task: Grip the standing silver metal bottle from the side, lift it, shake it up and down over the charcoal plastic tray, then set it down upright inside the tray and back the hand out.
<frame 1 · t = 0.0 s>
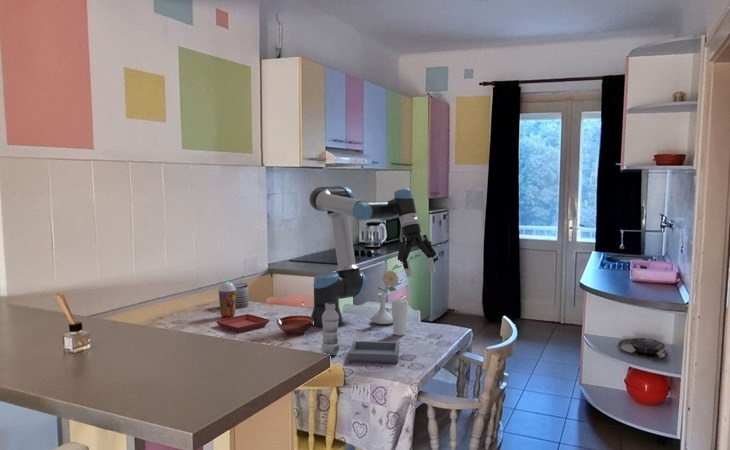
hand: (421, 274, 230), 28 cm above the table, tool tilted 20°, fingers open, 13 cm apart
tray: (374, 356, 212), on the table
plant saucer: (242, 327, 256), on the table
smoothie: (227, 317, 273), on the table
silver metal bottle: (330, 355, 214), on the table
can: (237, 306, 296), on the table
drinking glass: (399, 334, 243), on the table
flower in vase: (384, 323, 262), on the table
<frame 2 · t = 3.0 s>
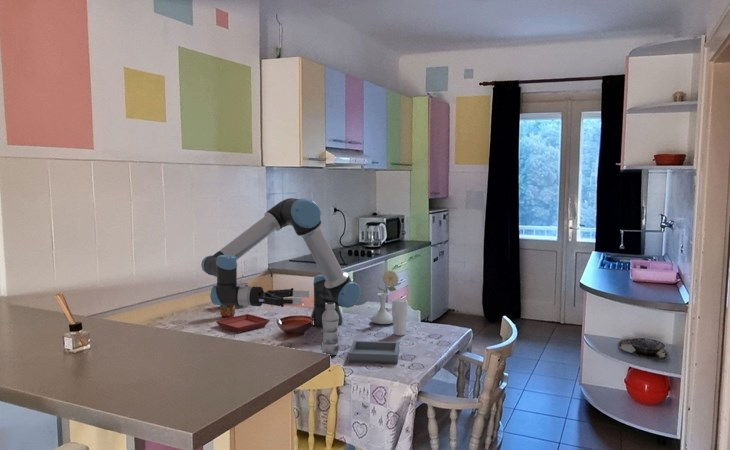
hand: (305, 297, 213), 22 cm above the table, tool horizontal, fingers open, 13 cm apart
nothing on the table moved.
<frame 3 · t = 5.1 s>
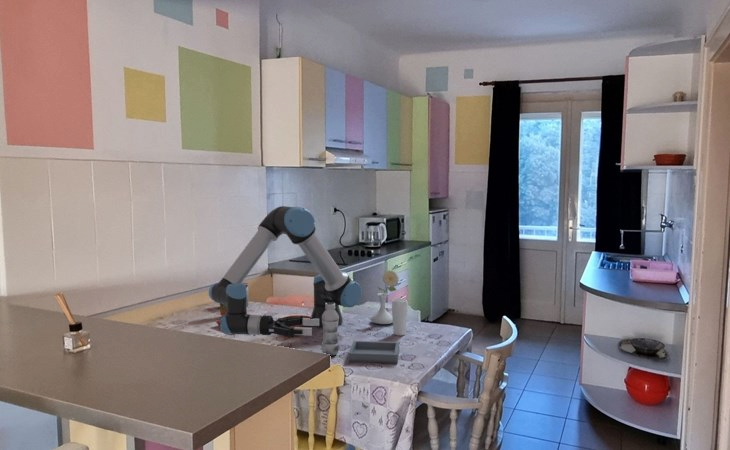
hand: (315, 326, 213), 11 cm above the table, tool horizontal, fingers open, 13 cm apart
nothing on the table moved.
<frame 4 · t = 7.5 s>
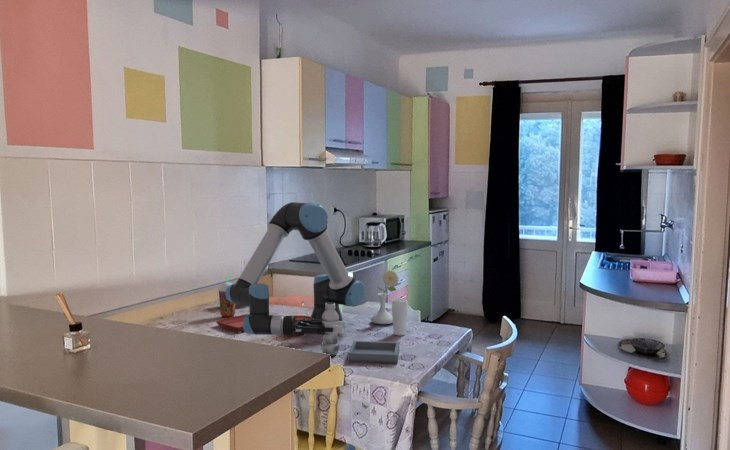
hand: (343, 327, 212), 11 cm above the table, tool horizontal, fingers closed on silver metal bottle, 6 cm apart
silver metal bottle: (330, 355, 214), on the table, touching gripper
everything else where it was.
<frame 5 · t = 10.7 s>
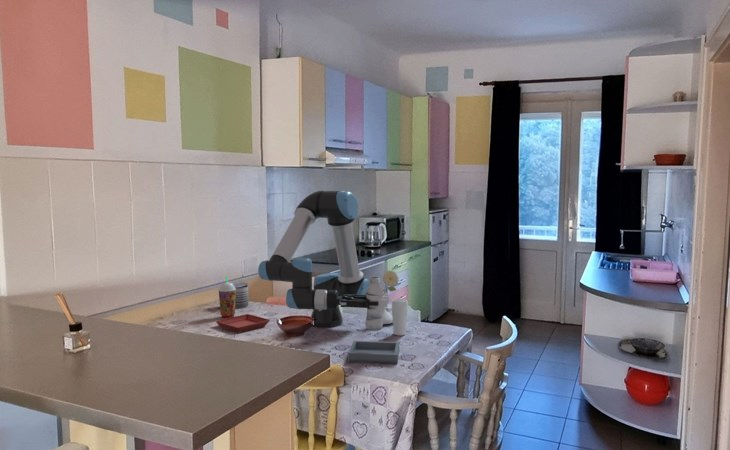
hand: (388, 301, 210), 21 cm above the table, tool horizontal, fingers closed on silver metal bottle, 6 cm apart
silver metal bottle: (374, 330, 211), point 10 cm above the table, touching gripper
everything else where it was.
when the fingers open (13 cm above the table, at t = 14.2 s): silver metal bottle drops 1 cm, resting on tray.
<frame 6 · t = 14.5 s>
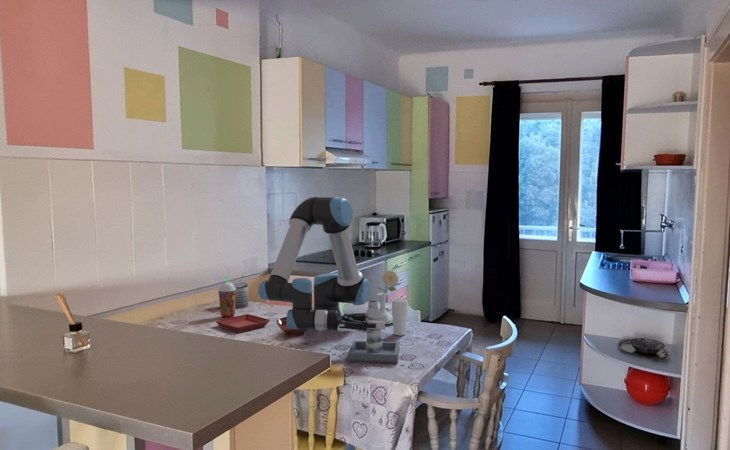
hand: (385, 321, 210), 13 cm above the table, tool horizontal, fingers open, 10 cm apart
silver metal bottle: (374, 354, 212), point 1 cm above the table, touching tray
everything else where it was.
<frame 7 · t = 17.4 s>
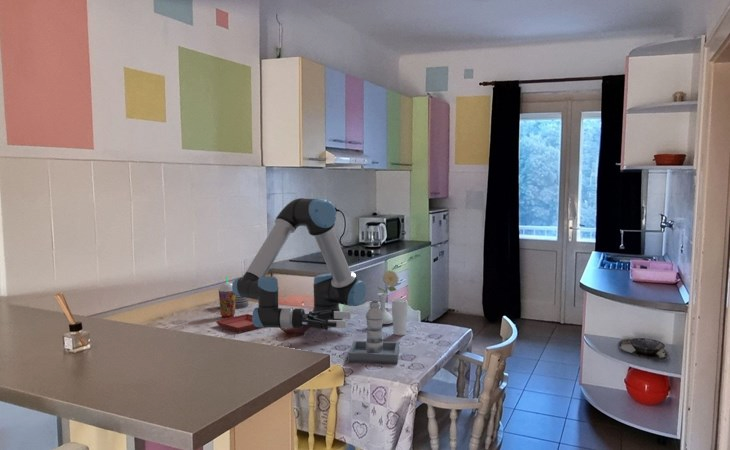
hand: (348, 319, 212), 14 cm above the table, tool horizontal, fingers open, 13 cm apart
nothing on the table moved.
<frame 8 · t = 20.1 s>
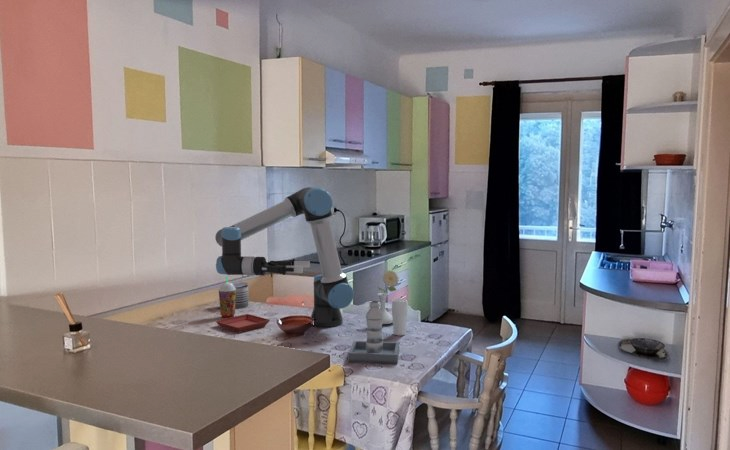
hand: (306, 266, 224), 32 cm above the table, tool horizontal, fingers open, 13 cm apart
nothing on the table moved.
at the end: silver metal bottle inside the target area on the tray (0.0 cm from its centre), point 0.8 cm above the tray's base; silver metal bottle tilted 0°; the gripper is holding nothing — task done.
